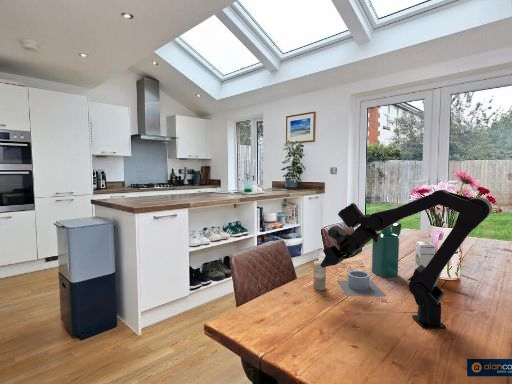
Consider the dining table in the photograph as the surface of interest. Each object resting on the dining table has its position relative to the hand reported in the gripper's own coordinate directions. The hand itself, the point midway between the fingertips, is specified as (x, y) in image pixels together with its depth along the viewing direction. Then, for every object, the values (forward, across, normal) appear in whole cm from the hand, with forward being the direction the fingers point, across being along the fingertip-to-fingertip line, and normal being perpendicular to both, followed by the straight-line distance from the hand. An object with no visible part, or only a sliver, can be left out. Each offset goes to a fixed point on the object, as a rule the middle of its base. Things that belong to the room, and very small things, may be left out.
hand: (328, 263), depth 107 cm
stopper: (+10, 0, +5) cm, 11 cm away
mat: (+2, -10, +13) cm, 16 cm away
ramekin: (+2, -12, +12) cm, 17 cm away
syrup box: (-8, -39, +23) cm, 46 cm away
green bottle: (+1, -33, +14) cm, 35 cm away
